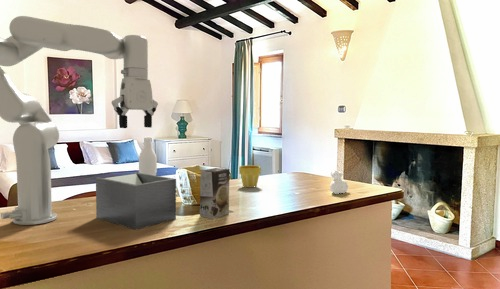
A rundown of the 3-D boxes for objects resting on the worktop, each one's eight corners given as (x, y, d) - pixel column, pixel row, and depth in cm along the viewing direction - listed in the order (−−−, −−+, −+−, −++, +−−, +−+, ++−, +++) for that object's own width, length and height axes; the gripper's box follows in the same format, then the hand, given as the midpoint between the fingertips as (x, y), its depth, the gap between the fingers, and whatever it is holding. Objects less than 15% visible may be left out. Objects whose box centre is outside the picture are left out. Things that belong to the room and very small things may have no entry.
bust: (344, 195, 183) (332, 175, 187) (356, 188, 178) (343, 166, 183) (330, 199, 175) (317, 177, 179) (342, 191, 170) (329, 169, 174)
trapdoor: (120, 214, 125) (122, 212, 124) (102, 180, 130) (103, 178, 129) (153, 206, 135) (154, 204, 135) (134, 175, 140) (136, 173, 140)
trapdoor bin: (135, 229, 118) (135, 185, 117) (96, 217, 130) (95, 177, 129) (175, 218, 131) (175, 178, 130) (136, 208, 143) (136, 172, 142)
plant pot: (236, 188, 186) (236, 167, 185) (241, 184, 196) (242, 164, 195) (257, 189, 183) (258, 168, 183) (262, 185, 194) (262, 165, 193)
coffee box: (214, 219, 131) (214, 171, 130) (199, 216, 134) (199, 170, 133) (229, 213, 139) (230, 168, 137) (215, 211, 142) (215, 167, 141)
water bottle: (160, 198, 160) (160, 137, 158) (150, 202, 153) (150, 138, 151) (145, 197, 162) (145, 137, 160) (135, 200, 156) (134, 138, 154)
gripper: (119, 71, 117) (120, 128, 119) (164, 76, 131) (164, 127, 133) (105, 72, 122) (105, 127, 123) (149, 77, 136) (149, 126, 137)
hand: (136, 127), depth 128 cm, fingers open, 9 cm apart
